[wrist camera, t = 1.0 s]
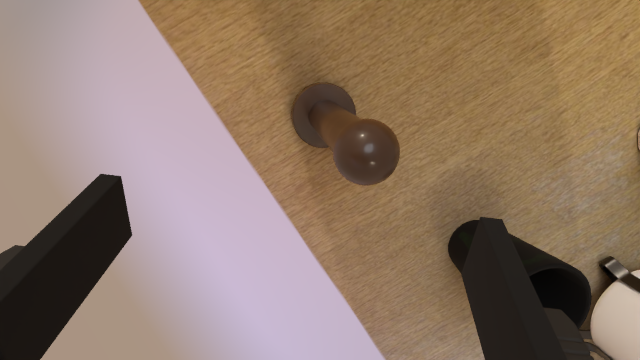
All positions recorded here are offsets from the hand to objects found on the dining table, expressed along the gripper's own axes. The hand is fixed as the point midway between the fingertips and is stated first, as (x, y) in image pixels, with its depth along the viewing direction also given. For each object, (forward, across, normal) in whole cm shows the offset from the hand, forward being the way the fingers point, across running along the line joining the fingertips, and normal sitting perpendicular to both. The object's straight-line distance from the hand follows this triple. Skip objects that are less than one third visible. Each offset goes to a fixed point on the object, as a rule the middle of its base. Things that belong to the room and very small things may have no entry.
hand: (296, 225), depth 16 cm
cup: (+24, +16, -18) cm, 34 cm away
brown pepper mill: (+24, -1, -5) cm, 24 cm away
